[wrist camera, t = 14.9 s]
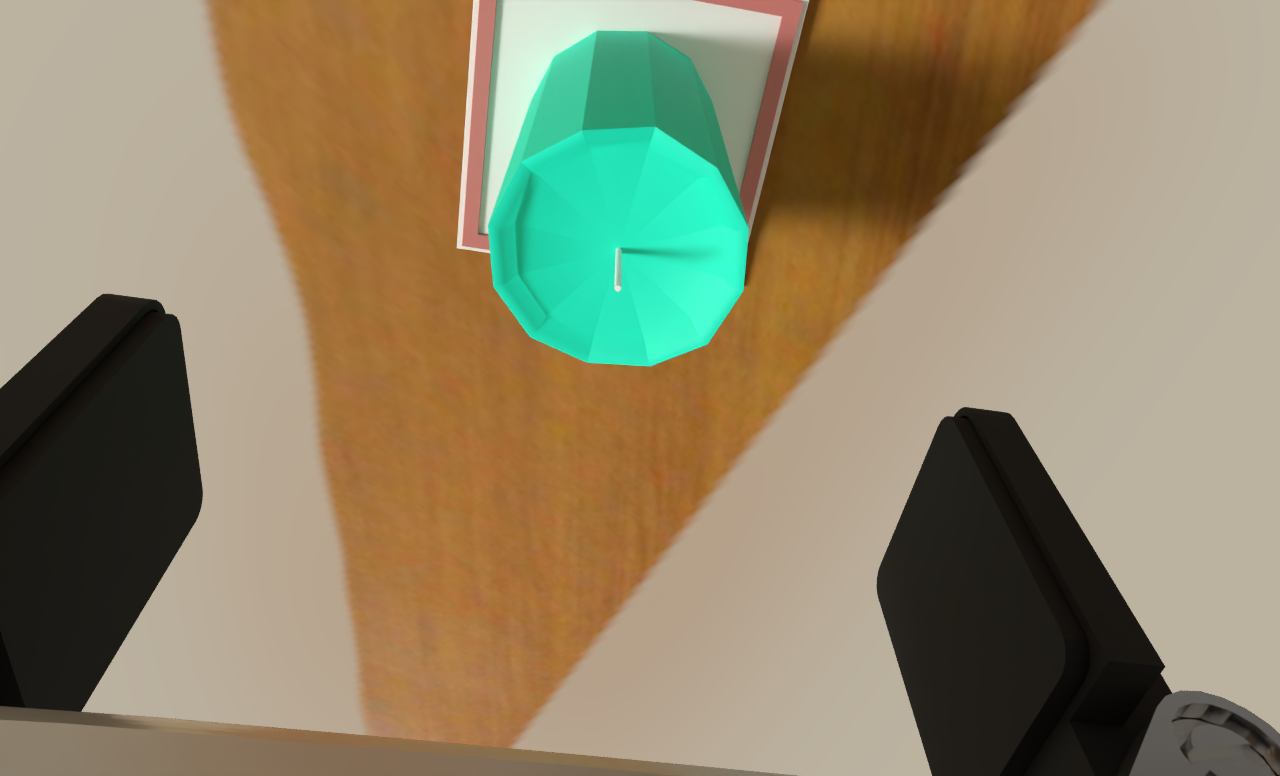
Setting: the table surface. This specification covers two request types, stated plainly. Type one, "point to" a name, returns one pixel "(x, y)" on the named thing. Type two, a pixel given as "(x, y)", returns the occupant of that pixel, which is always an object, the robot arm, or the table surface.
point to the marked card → (658, 3)
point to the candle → (620, 207)
